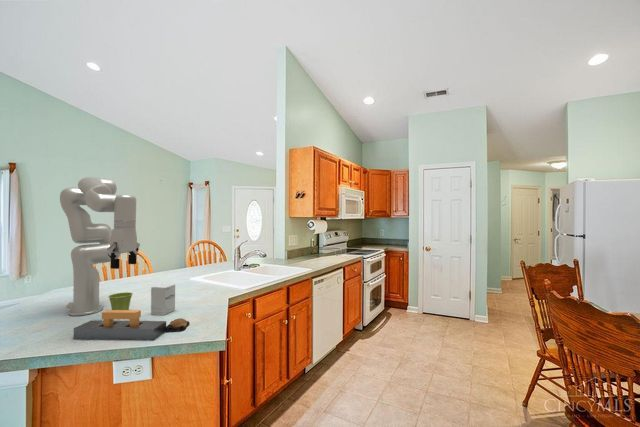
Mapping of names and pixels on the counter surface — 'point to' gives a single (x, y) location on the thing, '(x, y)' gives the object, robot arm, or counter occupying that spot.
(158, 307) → the supplement box
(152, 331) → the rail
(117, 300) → the plant pot
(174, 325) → the toy turtle
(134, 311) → the light wooden bench shape
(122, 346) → the counter surface
